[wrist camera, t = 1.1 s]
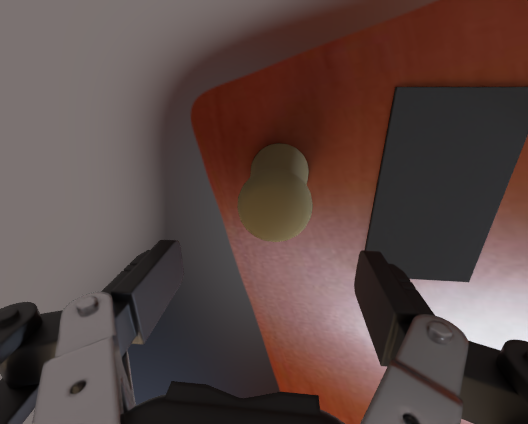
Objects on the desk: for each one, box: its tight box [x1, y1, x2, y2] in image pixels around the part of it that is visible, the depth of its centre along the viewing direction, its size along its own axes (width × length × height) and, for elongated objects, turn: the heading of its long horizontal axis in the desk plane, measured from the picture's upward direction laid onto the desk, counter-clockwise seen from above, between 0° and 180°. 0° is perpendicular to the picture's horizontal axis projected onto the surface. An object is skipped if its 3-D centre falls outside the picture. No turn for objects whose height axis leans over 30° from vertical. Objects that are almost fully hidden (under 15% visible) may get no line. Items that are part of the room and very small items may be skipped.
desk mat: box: [365, 87, 528, 282], centre depth 25 cm, size 20×12×1 cm, turn 0°
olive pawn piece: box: [238, 143, 313, 242], centre depth 21 cm, size 6×6×11 cm
